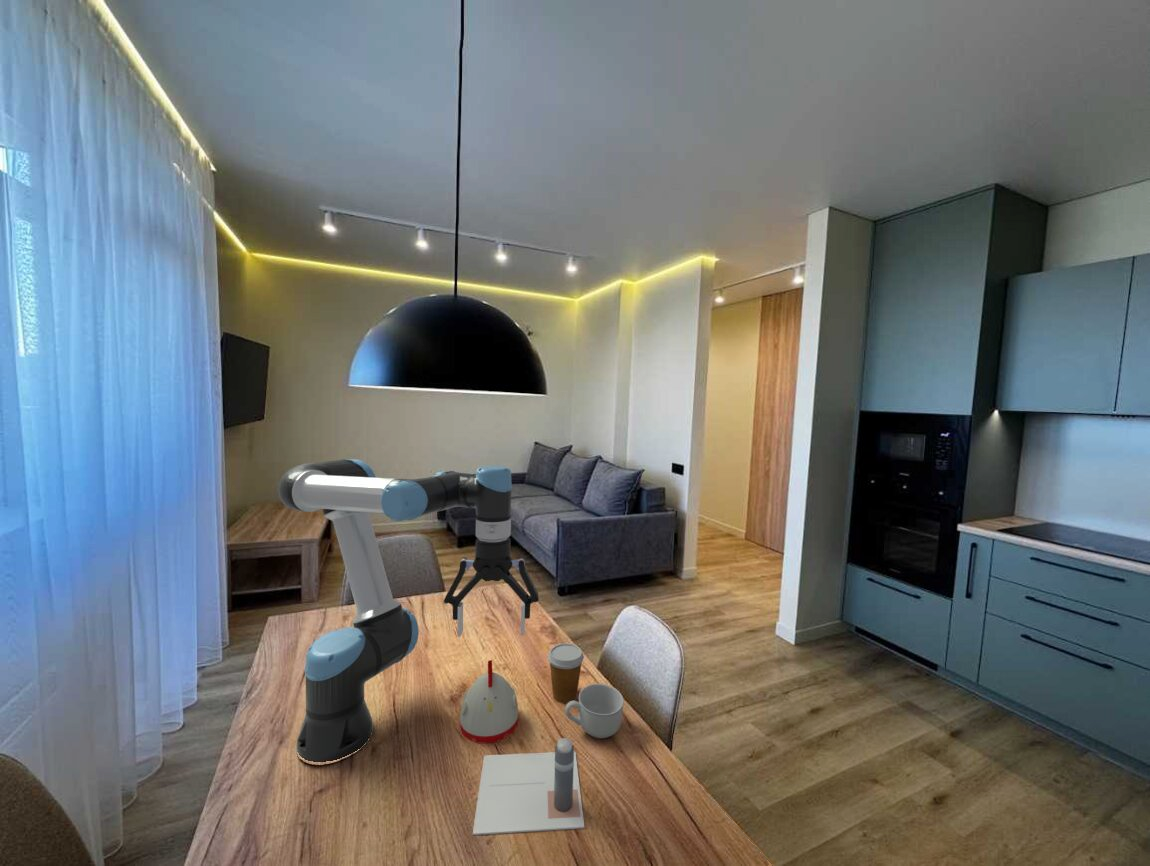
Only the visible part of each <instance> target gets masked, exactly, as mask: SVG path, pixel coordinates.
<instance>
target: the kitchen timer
mask: <svg viewBox="0 0 1150 866" xmlns="http://www.w3.org/2000/svg"><path fill="white" fill-rule="evenodd" d="M518 707H519V706H518V699H517V693H516V689H515V688H514V686H513V685H512V686H511V684H510V683H509V681H507V680H506V679H505V677H504V676H503V675H501V674H499V673H496V672H495V671H494V672H493V660H492V659H491V660H489V659H488V661H487V672H485V673H484V674H482V675H480V676H479V677H478V678H476V680H475V681H474V682H473V683H472V685H471V686H470V687H469V689H468V691H467V690H465V692H464V694H463V697H462V703H461V708H460V716H459V729H460V732H461V734H462V735H463V736H464V738H466V739H467V740H469V741H471V742H475V743H478V744H491V743H496V742H499V741H501V740H504V739H505V738H507V737H509V736H511V734H512V733H513V732H514V731H515V730H516V728H517V726H518V725H519V708H518Z"/></svg>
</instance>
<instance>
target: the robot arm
mask: <svg viewBox="0 0 1150 866" xmlns="http://www.w3.org/2000/svg"><path fill="white" fill-rule="evenodd" d="M512 490H513V485H512V471H511V470H510V468H508V467H507V466H501V465H485V466H479V467H478V468H477V469H476V474H475V473H466V472H460V471H459V472H457V471H454V470H450V471H448V470H447V471H438V472H436V473H435V474H434V475H433V476H428V477H422V478H414V479H412V478H396V477H395V478H394V477H393V478H391V477H376V473H375V472H374V470H373V469H372V468H371V466H370V465H369V464H368V463H366V462H364V461H363V460H360V459H357V458H356V459H348V458H342V459H338V460H337V459H335V460H329V461H320V462H308V463H302V464H299V465H296V466H293V467H292V468H291V469H289V470H287V471H286V472H285V473H284V474H283V475H282V476H281V479H280V480H279V482H278V486H277V494H278V497H279V500H280V501H281V503H282V504H283V505H285V507H286V508H288V509H291V510H293V511H297V512H306V513H310V512H311V513H314V512H317V511H319V510H322V512H323V516H324V518H326V519H328V520H330V521H331V522H332V524H333V528H334V531H335V534H336V539H337V541H338V546H339V550H340V554H341V557H342V561H343V564H344V568H345V571H346V575H347V579H348V582H349V587H350V590H351V594H352V597H353V600H354V605H355V609H356V612H357V613H356V615H355V616H354V619H353V620H352V625H353V626H352V627H351V626H349V627H348V626H346V627H342V628H340V629H334V630H331V631H329V632H326V633H324V634H323V635H321V636H319V637H318V638H317V639H316V640H315V641H313V642H312V644H311V645H310V647H309V648H308V649H307V652H306V656H305V664H304V665H305V666H304V674H305V715H304V719H303V722H302V725H301V728H300V730H299V733H298V736H297V739H296V753H297V752H298V753H299V755H300V756H301V757H302V758H304V759H305V760H308V761H313V762H326V761H333V760H337V759H340V758H342V757H345V756H347V755H349V754H351V753H353V752H355V751H357V750H358V749H360V748H361V747H362V746H363V745H364V744H365V743H366V742H367V741H368V739H369V738H370V739H371V737H372V735H371V733H372V734H373V717H372V715H371V713H370V710H369V707H368V704H367V702H366V699H365V683H366V682H367V681H369V680H371V679H372V678H374V677H376V676H377V675H379V674H381V672H384V671H385V670H386V669H388V668H390V667H392V666H393V665H395V664H397V663H399V662H401V661H402V660H404V658H405V657H407V656H408V655H409V654H411V653H412V652H413V650H414V649H415V647H416V645H417V643H418V640H419V625H418V621H417V618H416V616H415V615H414V614H412V611H410V610H409V609H408V608H404V607H403V606H402V602H401V601H398V600H396V599H394V598H393V594H392V590H391V588H390V583H389V580H388V577H387V574H386V573H387V572H386V570H385V569H386V568H385V566H384V562H383V559H382V558H383V557H382V555H381V551H380V548H379V544H378V540H377V537H376V534H375V530H374V529H375V528H374V527H373V523H372V519H371V515H370V514H376V515H385V516H386V517H388V518H389V519H390V520H391V521H394V522H403V521H412V520H415V519H417V518H420V517H423V516H427V515H430V514H434V513H437V512H442V511H445V510H448V509H452V508H458V507H459V508H460V507H463V508H468V509H475V537H476V539H475V551H474V553H475V554H474V560H473V559H468V558H467V557H463V558H461V561H460V563H459V570H458V573H457V574H456V576H455V578H454V580H453V582H452V583H451V585H450V587H449V589H448V591H447V593H446V595H445V598H444V600H443V603H444V604H450V605H451V606H452V619H453V620H454V621H457V625H456V626H457V628H456V629H457V631H456V633H457V638H458V637H462V634H463V630H464V601H463V600H464V599H465V598H466V597H467V595H468V594H469V593H470V592H471V591H472V590H473V588H474V587H475V586H476V585H477V584H478V583H480V581H481V580H482V581H484V582H491V581H494V582H500V581H501V580H503V582H504V583H505V584H507V586H509V587H510V589H512V590H513V592H514V593H515V594H516V595H517V597H518V598H519V599H520V600H521V606H520V607H521V609H520V610H521V611H520V636H525V626H526V625H525V623H526V622H525V621H526V620H527V619H528V620H529V619H530V618H531V617H530V616H531V605H532V604H533V603H538V602H539V593H538V591H537V589H536V586H535V585H534V583H533V581H532V578H531V576H530V574H529V572H528V570H527V568H526V563H525V558H524V557H519V559H512V558H511V538H510V536H511V535H512V517H511V516H512V512H511V509H512V492H513V491H512ZM471 567H473V569H474V570H475V573H474V575H473V577H472V578H471V579H470V580H469V581H468V582H467V583H466V584H465V585H464V587H462V588H461V590H459V592H458V593H457V595H454V594H455V592H456V590H457V588H458V587H459V585H460V583H461V581H462V579H463V576H464V575H465V573H466V571H469V570H470V568H471ZM512 567H514V568H515V570H516V571H518V572H519V574H520V578H521V579H522V581H523V583H524V585H525V587H526V590H527V591H526V590H525V589H524V588H523V587H522V585H521V584H520V583H519V582H518V581H517V580H516V579H515V577H514V576H513V574H512V573H511V572H510V570H511V568H512ZM527 592H528V593H527ZM525 619H526V620H525ZM370 736H371V737H370ZM370 739H369V740H370ZM368 742H369V741H368ZM368 742H367V743H368ZM367 743H366V744H367ZM360 750H361V749H360Z"/></svg>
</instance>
